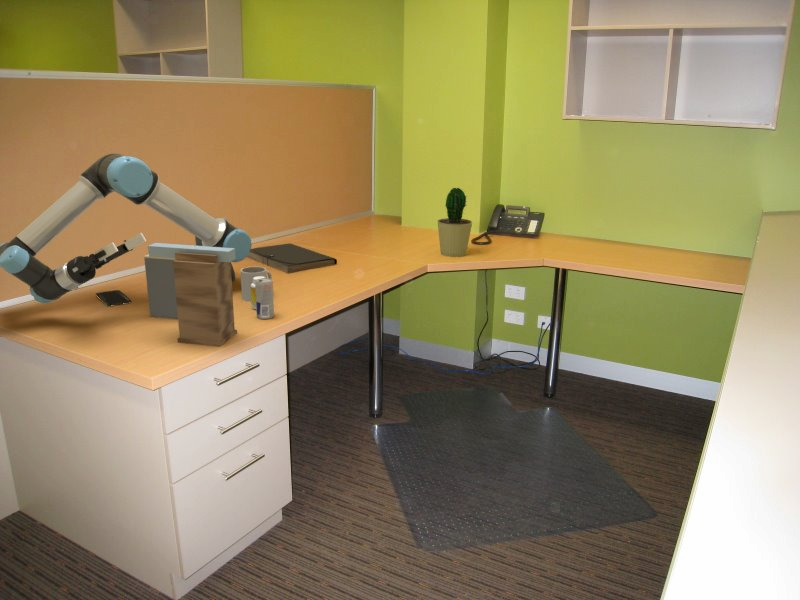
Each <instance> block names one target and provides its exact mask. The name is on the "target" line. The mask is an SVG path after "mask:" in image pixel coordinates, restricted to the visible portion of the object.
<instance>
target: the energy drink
mask: <svg viewBox="0 0 800 600" xmlns="http://www.w3.org/2000/svg"><path fill="white" fill-rule="evenodd" d="M273 283H274V281H273V278H272V279H269V278H268V277H267V278H261V279H257V280H256V282H255V288H256V309H257V310H256V309H255V310H256V317H257V318H258V319H259V320H270V319H273V318H274V317H275V307H274V306H275V304H274V285H273ZM272 317H273V318H272Z"/></svg>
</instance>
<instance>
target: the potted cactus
mask: <svg viewBox="0 0 800 600" xmlns="http://www.w3.org/2000/svg"><path fill="white" fill-rule="evenodd" d="M466 192H467V191H466ZM466 192H465V191H464V189H463V188H462V189H461V188H459V187H452V188H451V189H450V191H449V192H447V195H446V198H445V206H444V208H445V209H446V214H447V215H446V216H447V217H446V218H445V217H444V218H439V219H437V230H438V239H439V248H440V255H441V256H445V257H451V258H459V257H460V258H462V257H465V256H466V255H467V251H468V245H469V241H470V235H471V231H472V225H473V221H472V220H470V219H465V218H463V214H466V213H464V209H465V208H466V207H467V206H468V205H467V204H466V203H467V195H466V194H465V193H466Z"/></svg>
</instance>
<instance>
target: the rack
mask: <svg viewBox="0 0 800 600" xmlns="http://www.w3.org/2000/svg"><path fill="white" fill-rule="evenodd" d="M231 264H232V262H218V257H217V255H208V254H194V253H181V252H176V253H175V261H173V267H174V279H175V290H176V301H177V313H178V319H177V322H178V333H179V336H178V338H177V341H176V342H177V343H182V344H192V345H193V344H194V345H203V346H212V347H214V346H215V347H222V346H223V345H224V344H226V343H227V342H228V341H229V340H230V339H231V338H233V337H234V336H235V335H236V334H238V329H236V327H235V313H234V298H233V297H234V296H233V295H234V294H233V282H232V276H231Z"/></svg>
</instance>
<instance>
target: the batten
mask: <svg viewBox="0 0 800 600" xmlns="http://www.w3.org/2000/svg"><path fill="white" fill-rule="evenodd" d="M147 249H148V254H149V256H150V257H163V258H175V253H176V252H181V253H194V254H208V255H217V257H218V262H231V261H233V260H235V259H236V256H235V248H222V247H208V246H196V245H193V244H191V245H189V244H181V243H180V244H178V243H177V244H176V243H175V244H174V243H163V242H154V243H152V244H149V245H147ZM231 263H232V262H231Z"/></svg>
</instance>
